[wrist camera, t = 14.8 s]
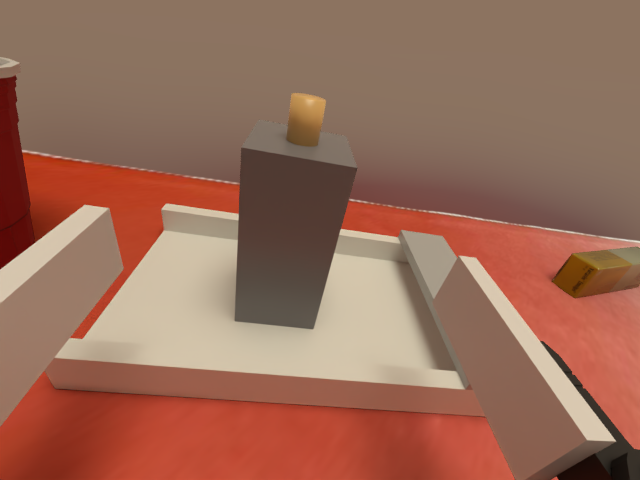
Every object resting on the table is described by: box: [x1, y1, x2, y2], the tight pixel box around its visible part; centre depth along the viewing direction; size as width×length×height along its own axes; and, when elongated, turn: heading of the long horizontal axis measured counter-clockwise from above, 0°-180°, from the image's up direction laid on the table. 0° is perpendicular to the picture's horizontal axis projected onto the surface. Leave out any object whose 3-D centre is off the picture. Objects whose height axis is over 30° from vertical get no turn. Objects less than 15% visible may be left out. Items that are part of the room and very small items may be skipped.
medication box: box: [552, 247, 640, 298], centre depth 31 cm, size 12×3×4 cm, turn 109°
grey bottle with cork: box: [235, 93, 357, 329], centre depth 17 cm, size 5×5×13 cm
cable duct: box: [44, 204, 485, 417], centre depth 20 cm, size 24×14×3 cm, turn 92°
